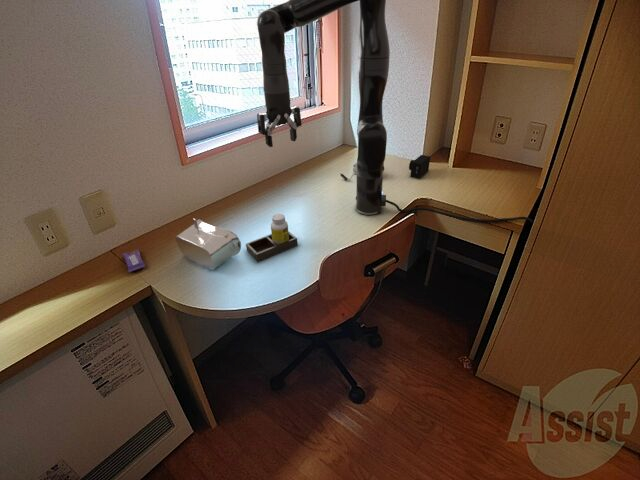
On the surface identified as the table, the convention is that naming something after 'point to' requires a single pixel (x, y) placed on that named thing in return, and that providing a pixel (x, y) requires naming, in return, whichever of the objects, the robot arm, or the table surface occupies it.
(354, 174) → the clip-on lamp
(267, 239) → the divided box
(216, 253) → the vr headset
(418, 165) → the digital camera
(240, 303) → the table surface
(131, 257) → the snack package
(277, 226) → the supplement bottle
